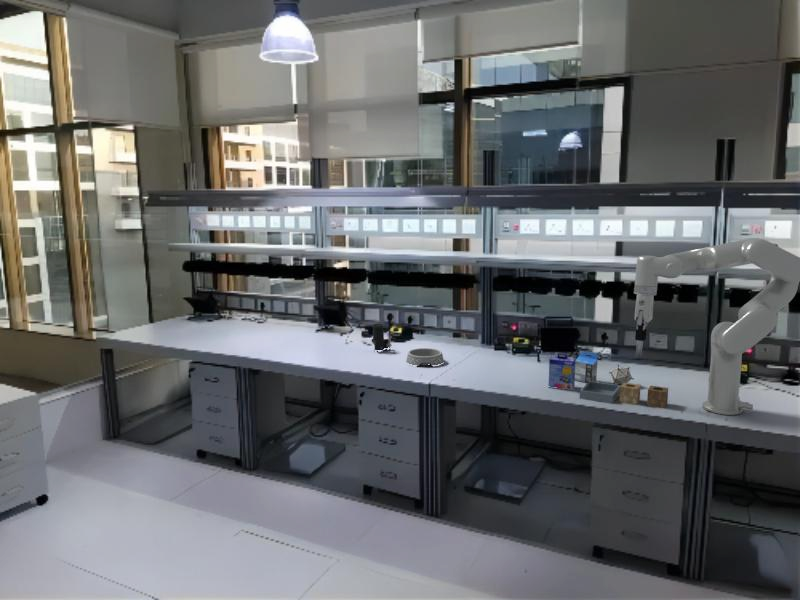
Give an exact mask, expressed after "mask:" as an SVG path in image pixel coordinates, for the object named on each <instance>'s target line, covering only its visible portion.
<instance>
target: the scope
mask: <svg viewBox="0 0 800 600" xmlns="http://www.w3.org/2000/svg"><path fill="white" fill-rule="evenodd" d="M384 327H385V325H384V324H383V323H375V324H374V323H373V325H372V329H373V330H372V339H371V343H372V344H373V345H374V351H375V350H383V349H384V348H388V347H389V348H390V349H391V347H392V343H391V335H388V338H387V339H385V336H384V335H385V334H384Z"/></svg>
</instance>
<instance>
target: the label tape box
mask: <svg viewBox="0 0 800 600" xmlns="http://www.w3.org/2000/svg"><path fill="white" fill-rule="evenodd" d="M578 354H579V355H578V357H577V358H575V381H576V382H581V383H586V384H587V383H588V382H589V381H593V382H597V378H598V377H597V373H598V361H599V359H598V354H597V353H594V352H590V351H589V352H588V351H584V350H579V353H578Z"/></svg>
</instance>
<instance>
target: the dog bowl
mask: <svg viewBox="0 0 800 600" xmlns="http://www.w3.org/2000/svg"><path fill="white" fill-rule="evenodd" d="M444 360H445V359H444V354H443V352H442V351H441V350H440V349H437V348H429V347H424V348H421V347H420V348H415V349H414V348H413V349H410V350H409V351H408V352H407V356H406V360H405V363H406V362H407V363H409V364H412V365H417V366H429V365H428V364H431V365H430V366H432V365H438V364H441V363H443V362H444V363H445V361H444ZM420 364H421V365H420Z"/></svg>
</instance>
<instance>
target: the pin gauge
mask: <svg viewBox="0 0 800 600" xmlns="http://www.w3.org/2000/svg"><path fill="white" fill-rule="evenodd" d="M643 345H644V341H639V340H636V347H635V349H636V350H635V358H642V354H643Z"/></svg>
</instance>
